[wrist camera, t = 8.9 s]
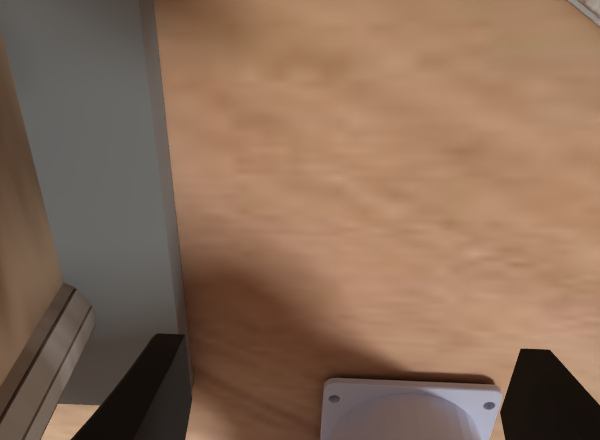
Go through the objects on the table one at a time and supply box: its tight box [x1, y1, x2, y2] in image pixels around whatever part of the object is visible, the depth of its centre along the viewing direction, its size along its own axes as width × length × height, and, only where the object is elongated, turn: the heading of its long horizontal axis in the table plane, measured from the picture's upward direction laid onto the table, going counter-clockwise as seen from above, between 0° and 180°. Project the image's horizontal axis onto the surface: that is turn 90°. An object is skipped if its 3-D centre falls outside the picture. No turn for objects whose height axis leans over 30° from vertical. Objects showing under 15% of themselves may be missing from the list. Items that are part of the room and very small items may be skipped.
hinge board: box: [0, 0, 194, 405], centre depth 20 cm, size 18×10×4 cm, turn 178°
